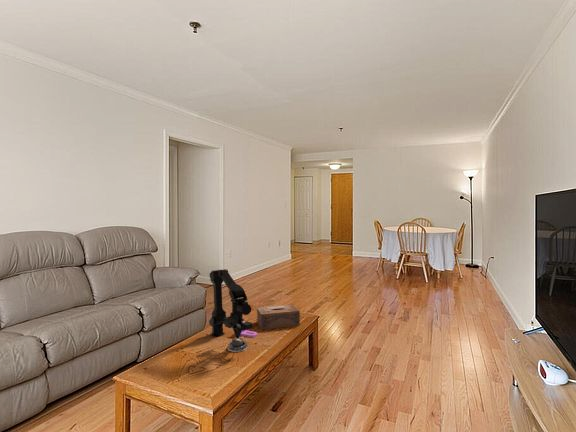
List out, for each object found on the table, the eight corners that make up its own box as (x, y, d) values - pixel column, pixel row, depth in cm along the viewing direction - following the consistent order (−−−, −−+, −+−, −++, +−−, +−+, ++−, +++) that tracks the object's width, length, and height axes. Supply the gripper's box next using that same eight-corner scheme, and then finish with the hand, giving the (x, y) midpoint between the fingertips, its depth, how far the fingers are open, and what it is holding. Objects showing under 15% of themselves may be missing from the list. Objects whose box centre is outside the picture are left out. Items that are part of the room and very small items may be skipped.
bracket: (235, 334, 204) (235, 323, 204) (240, 331, 209) (240, 320, 209) (254, 338, 199) (254, 326, 199) (258, 334, 204) (258, 323, 204)
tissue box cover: (293, 318, 233) (293, 304, 233) (299, 325, 220) (299, 310, 219) (257, 322, 226) (257, 307, 226) (261, 329, 213) (261, 314, 212)
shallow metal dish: (223, 348, 184) (223, 344, 184) (237, 341, 193) (237, 338, 193) (237, 353, 177) (237, 349, 177) (251, 346, 186) (251, 343, 186)
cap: (229, 347, 185) (229, 340, 185) (237, 343, 190) (237, 336, 189) (237, 350, 181) (237, 342, 181) (245, 346, 186) (245, 339, 186)
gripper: (214, 311, 184) (215, 338, 184) (238, 317, 173) (238, 347, 173) (229, 306, 193) (230, 332, 193) (253, 312, 181) (253, 340, 182)
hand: (237, 338), depth 185 cm, fingers closed
